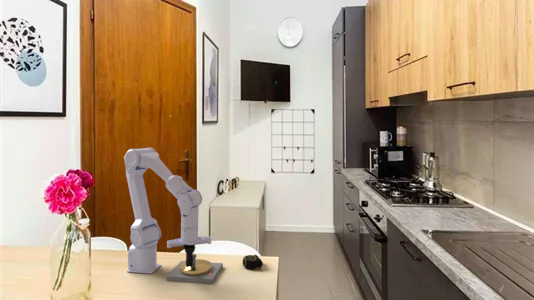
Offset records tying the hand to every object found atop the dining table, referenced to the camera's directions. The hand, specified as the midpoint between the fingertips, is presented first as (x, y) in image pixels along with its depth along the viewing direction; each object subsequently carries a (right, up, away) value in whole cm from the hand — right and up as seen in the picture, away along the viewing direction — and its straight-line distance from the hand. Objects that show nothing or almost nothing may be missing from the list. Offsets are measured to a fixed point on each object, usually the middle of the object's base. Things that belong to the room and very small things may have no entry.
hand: (189, 266), depth 122 cm
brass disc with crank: (+1, -3, +6) cm, 6 cm away
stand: (+1, -5, +6) cm, 7 cm away
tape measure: (+21, -5, +13) cm, 25 cm away
